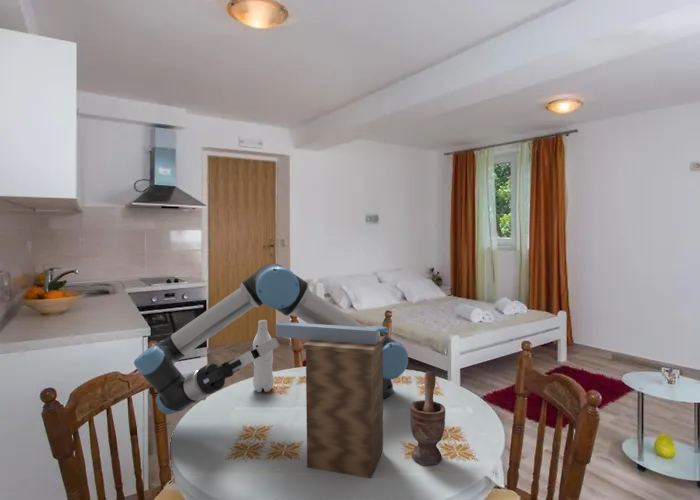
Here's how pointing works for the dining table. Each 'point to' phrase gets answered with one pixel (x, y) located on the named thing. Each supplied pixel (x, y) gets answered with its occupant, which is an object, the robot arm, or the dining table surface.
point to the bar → (328, 332)
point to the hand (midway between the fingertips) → (265, 348)
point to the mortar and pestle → (427, 425)
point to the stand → (344, 406)
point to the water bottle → (263, 360)
